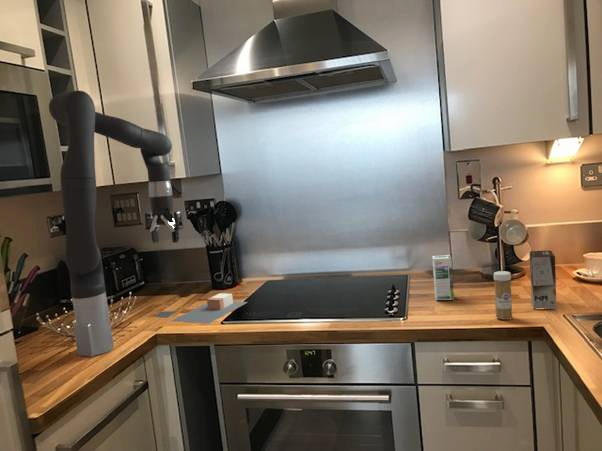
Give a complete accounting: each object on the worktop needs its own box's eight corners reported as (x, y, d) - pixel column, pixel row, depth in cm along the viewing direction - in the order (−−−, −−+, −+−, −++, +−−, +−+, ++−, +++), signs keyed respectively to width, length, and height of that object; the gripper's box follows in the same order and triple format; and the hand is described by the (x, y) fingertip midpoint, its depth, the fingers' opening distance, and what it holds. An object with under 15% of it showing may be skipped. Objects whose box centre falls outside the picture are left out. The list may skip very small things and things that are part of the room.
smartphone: (138, 325, 171) (160, 311, 186) (139, 328, 171) (161, 313, 186) (157, 325, 169) (177, 310, 184) (157, 327, 170) (178, 313, 184)
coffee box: (557, 310, 148) (555, 256, 146) (533, 309, 150) (531, 256, 148) (553, 301, 157) (551, 249, 155) (530, 300, 159) (528, 250, 157)
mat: (209, 324, 165) (208, 323, 165) (170, 322, 173) (170, 320, 173) (248, 303, 187) (248, 302, 187) (212, 301, 194) (212, 300, 194)
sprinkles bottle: (502, 321, 143) (500, 275, 141) (492, 317, 147) (490, 272, 145) (516, 319, 144) (514, 272, 142) (505, 314, 148) (503, 269, 147)
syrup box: (436, 301, 167) (433, 258, 165) (434, 296, 173) (432, 255, 171) (454, 301, 166) (451, 257, 164) (452, 296, 172) (449, 254, 170)
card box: (220, 302, 190) (219, 293, 189) (233, 303, 187) (232, 293, 187) (208, 309, 183) (206, 299, 182) (220, 309, 180) (219, 299, 180)
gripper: (184, 193, 171) (189, 240, 173) (152, 194, 177) (157, 240, 179) (170, 195, 164) (175, 244, 166) (136, 196, 171) (141, 244, 173)
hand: (165, 242), depth 173 cm, fingers open, 8 cm apart
